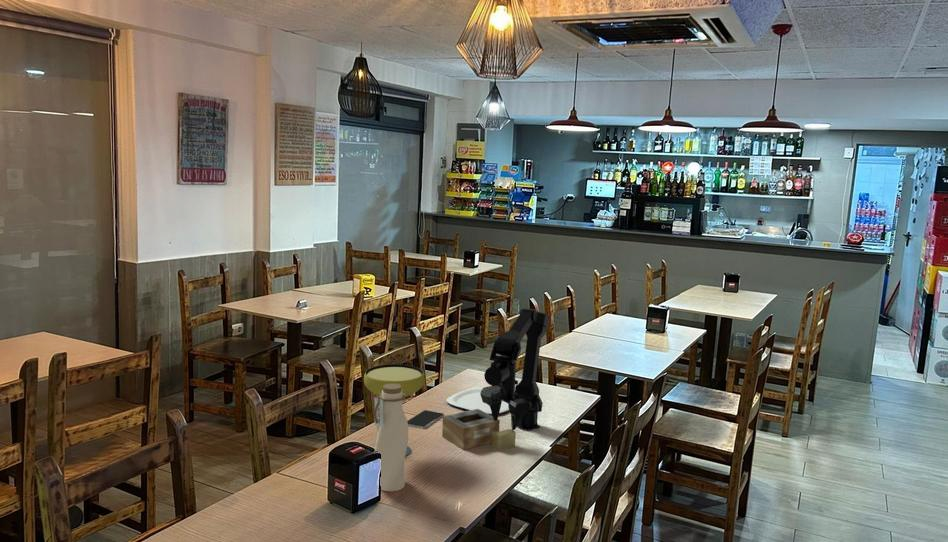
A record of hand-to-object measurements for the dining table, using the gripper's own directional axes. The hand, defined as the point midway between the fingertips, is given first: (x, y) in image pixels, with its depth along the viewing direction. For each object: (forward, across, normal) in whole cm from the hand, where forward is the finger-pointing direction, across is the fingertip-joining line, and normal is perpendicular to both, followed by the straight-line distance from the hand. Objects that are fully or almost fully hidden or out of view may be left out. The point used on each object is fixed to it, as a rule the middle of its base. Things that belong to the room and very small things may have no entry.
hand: (504, 425), depth 211 cm
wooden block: (+7, 0, 0) cm, 7 cm away
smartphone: (+8, -33, -9) cm, 35 cm away
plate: (+8, -37, +20) cm, 43 cm away
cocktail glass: (+7, -15, -31) cm, 35 cm away
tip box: (+7, -11, -5) cm, 14 cm away
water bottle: (+7, +5, -43) cm, 44 cm away
